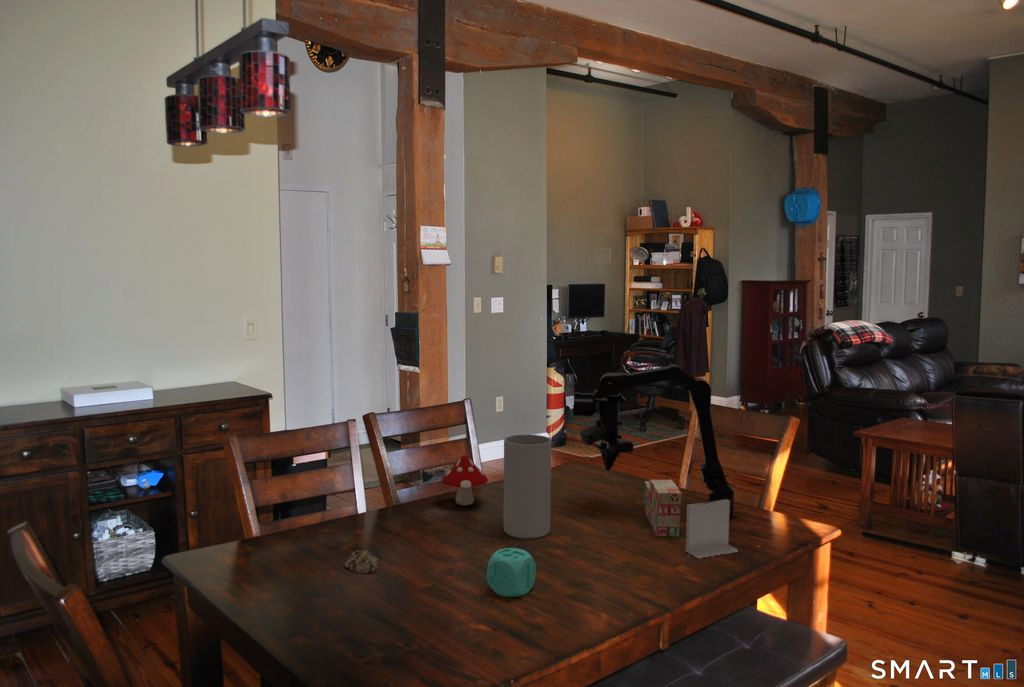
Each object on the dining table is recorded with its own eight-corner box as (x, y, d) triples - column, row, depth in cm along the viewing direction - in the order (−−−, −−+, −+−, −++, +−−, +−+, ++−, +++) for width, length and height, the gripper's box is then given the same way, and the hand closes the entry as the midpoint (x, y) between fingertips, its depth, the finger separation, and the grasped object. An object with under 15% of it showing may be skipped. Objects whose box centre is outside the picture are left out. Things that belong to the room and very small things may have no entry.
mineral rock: (336, 554, 181) (367, 539, 185) (341, 570, 183) (371, 555, 186) (353, 571, 172) (385, 555, 176) (358, 587, 174) (389, 571, 177)
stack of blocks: (643, 512, 222) (644, 470, 221) (664, 512, 222) (665, 470, 221) (656, 537, 200) (657, 492, 199) (680, 538, 200) (681, 492, 199)
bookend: (725, 545, 195) (726, 499, 194) (737, 551, 190) (739, 505, 189) (685, 551, 190) (687, 504, 189) (697, 558, 186) (699, 510, 184)
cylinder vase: (496, 535, 201) (496, 442, 198) (513, 521, 212) (514, 433, 210) (540, 542, 196) (541, 446, 194) (556, 527, 208) (557, 437, 205)
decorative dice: (517, 600, 162) (517, 564, 161) (485, 592, 166) (486, 556, 165) (536, 587, 168) (536, 552, 168) (505, 579, 173) (505, 545, 172)
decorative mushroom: (486, 512, 220) (486, 461, 218) (438, 512, 220) (438, 461, 219) (488, 498, 234) (489, 450, 232) (443, 497, 234) (443, 449, 233)
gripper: (569, 413, 225) (568, 465, 227) (599, 425, 208) (599, 481, 210) (602, 410, 230) (601, 461, 231) (635, 422, 213) (634, 477, 214)
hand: (608, 470), depth 221 cm, fingers closed
